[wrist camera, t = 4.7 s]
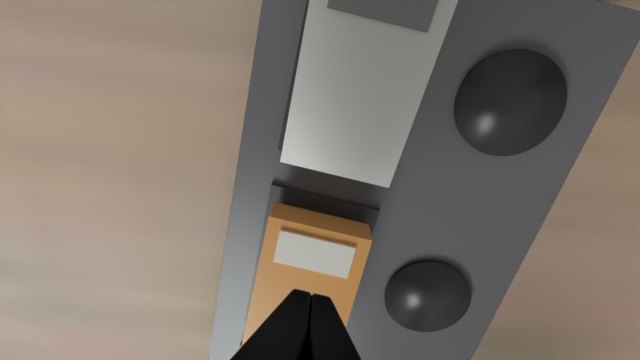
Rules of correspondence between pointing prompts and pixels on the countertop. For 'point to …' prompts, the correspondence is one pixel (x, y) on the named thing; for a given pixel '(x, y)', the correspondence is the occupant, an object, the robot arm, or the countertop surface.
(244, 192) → the power strip
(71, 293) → the countertop surface
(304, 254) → the block
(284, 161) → the rocker
